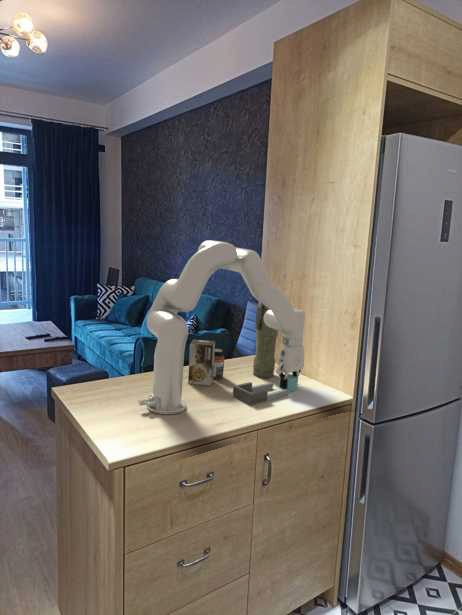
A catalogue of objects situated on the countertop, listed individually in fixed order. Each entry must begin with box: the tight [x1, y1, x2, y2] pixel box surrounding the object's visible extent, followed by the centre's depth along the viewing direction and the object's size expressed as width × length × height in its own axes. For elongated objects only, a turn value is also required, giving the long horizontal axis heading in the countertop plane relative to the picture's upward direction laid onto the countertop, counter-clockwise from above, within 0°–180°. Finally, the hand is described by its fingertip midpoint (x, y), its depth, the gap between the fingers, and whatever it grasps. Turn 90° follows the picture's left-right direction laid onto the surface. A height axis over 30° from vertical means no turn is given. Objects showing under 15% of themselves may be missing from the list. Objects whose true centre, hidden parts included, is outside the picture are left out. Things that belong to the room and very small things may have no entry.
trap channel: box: [232, 381, 289, 406], centre depth 166 cm, size 19×9×4 cm, turn 130°
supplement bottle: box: [213, 348, 225, 380], centre depth 181 cm, size 6×6×11 cm
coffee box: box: [187, 339, 216, 387], centre depth 174 cm, size 9×6×16 cm
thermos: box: [252, 302, 279, 379], centre depth 187 cm, size 9×12×35 cm
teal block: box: [278, 373, 299, 393], centre depth 175 cm, size 5×5×5 cm
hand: (288, 386), depth 175 cm, fingers closed on teal block, 5 cm apart
